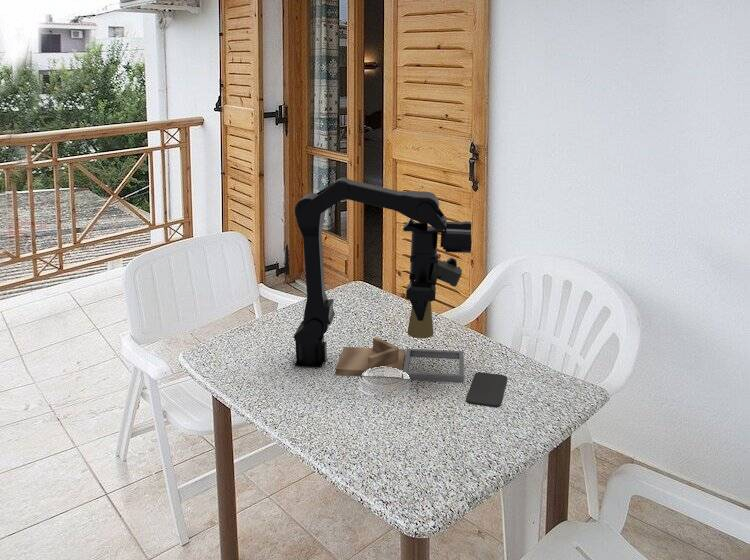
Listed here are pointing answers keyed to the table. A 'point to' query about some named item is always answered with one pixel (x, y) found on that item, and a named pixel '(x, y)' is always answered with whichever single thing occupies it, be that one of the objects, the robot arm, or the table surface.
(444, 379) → the steel collar
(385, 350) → the dog kennel
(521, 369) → the table surface
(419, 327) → the cork
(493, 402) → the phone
